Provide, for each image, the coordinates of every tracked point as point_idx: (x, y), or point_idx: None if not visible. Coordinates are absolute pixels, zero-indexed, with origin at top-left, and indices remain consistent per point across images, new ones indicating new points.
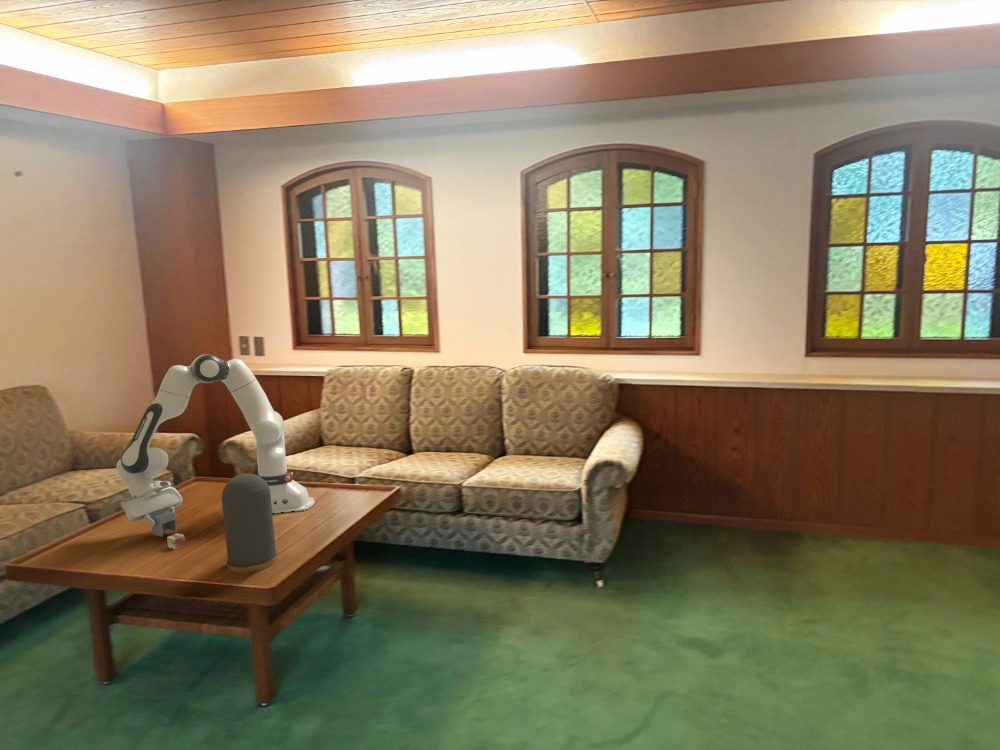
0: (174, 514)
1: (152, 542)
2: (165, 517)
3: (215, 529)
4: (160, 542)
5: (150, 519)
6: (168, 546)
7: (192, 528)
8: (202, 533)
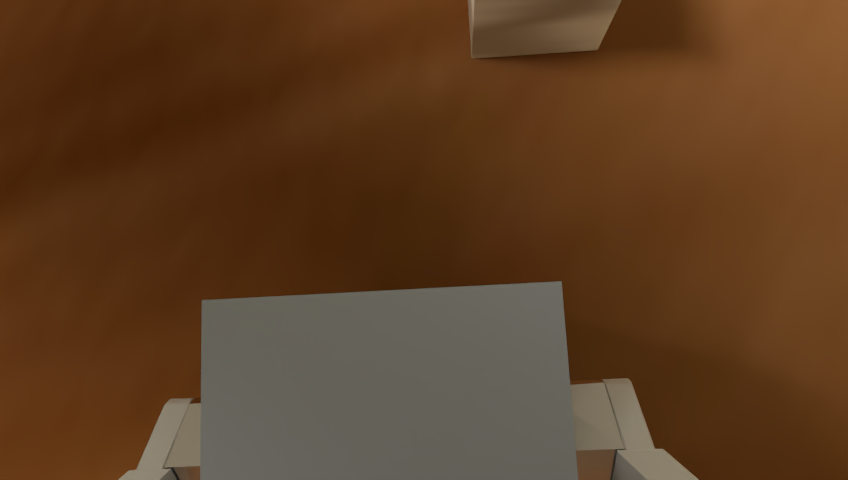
0: (228, 302)
1: (611, 371)
2: (435, 289)
3: (11, 82)
4: (558, 279)
5: (686, 469)
6: (599, 36)
7: (93, 361)
8: (154, 101)
